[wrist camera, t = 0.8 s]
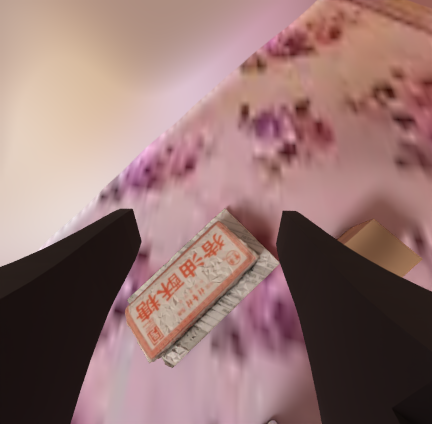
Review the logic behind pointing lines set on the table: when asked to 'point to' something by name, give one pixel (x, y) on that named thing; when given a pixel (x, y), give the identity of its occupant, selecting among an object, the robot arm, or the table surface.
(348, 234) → the tan cube
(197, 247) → the packaged product
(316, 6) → the table surface
